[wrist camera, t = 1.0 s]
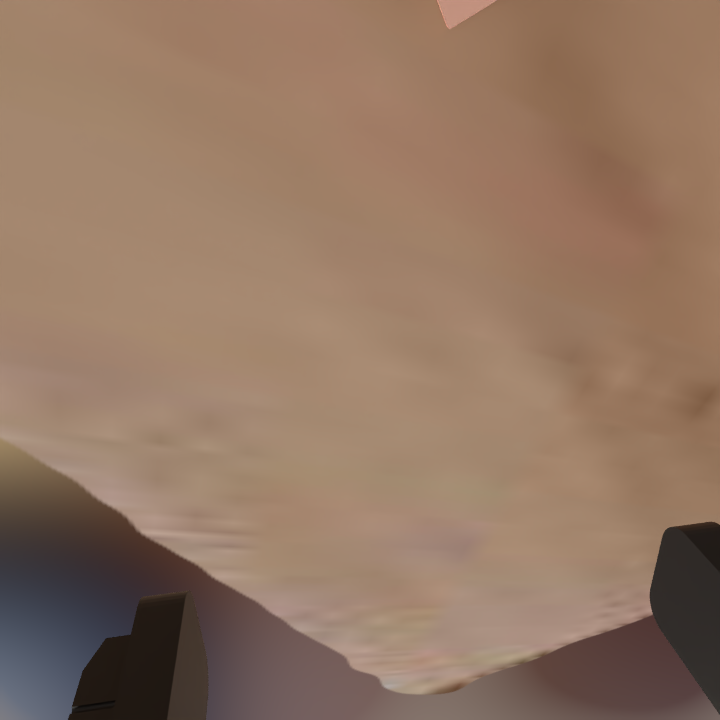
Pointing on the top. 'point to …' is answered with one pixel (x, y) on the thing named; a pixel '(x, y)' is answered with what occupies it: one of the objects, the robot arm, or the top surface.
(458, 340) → the top surface
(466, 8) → the terracotta mat
